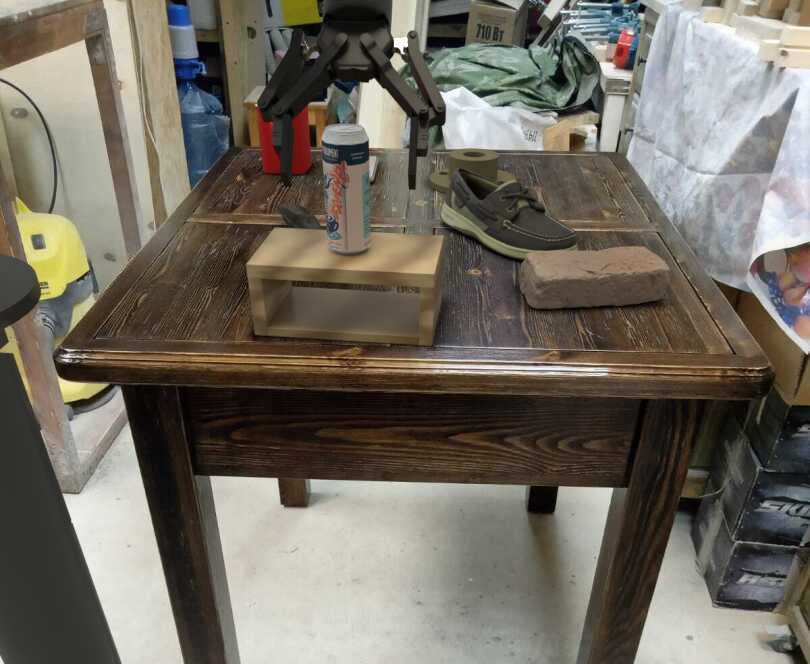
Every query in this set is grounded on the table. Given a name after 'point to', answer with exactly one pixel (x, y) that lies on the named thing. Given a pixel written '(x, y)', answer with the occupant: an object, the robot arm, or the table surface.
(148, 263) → the table surface
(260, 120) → the mug
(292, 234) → the shelf
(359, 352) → the table surface
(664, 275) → the brick
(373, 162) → the smartphone
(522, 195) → the boat shoe
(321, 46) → the robot arm
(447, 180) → the flange
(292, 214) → the tool
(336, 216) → the beer can
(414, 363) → the table surface
